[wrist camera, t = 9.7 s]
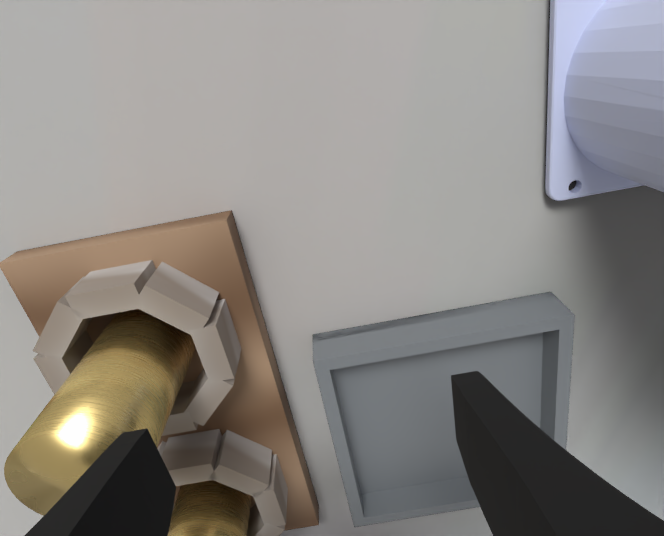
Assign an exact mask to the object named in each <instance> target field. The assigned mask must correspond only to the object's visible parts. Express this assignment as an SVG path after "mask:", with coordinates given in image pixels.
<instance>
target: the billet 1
mask: <svg viewBox="0 0 664 536" xmlns="http://www.w3.org/2000/svg"><path fill="white" fill-rule="evenodd" d="M195 349H196V347H195V344H194V341H193V339H192V336H191V335H190V334H188V333H186V332H184V331H182V330H180V329H178V328H176V327H174V326H172V325H170V324H168V323H166V322H164V321H162V320H160V319H158V318H156V317H154V316H152V315H150V314H148V313H146V312H144V311H142V310H140V309H135V310H129V311H124V312H118V313H117V314H116V315H115V316H114V317H113V319H112V320H111V321H110V322H109V324H108V325H107V326H106V328H105V329H104V330H103V332H102V333H101V334H100V336H99V337H98V338H97V340H96V341H95V342H94V344H93V345H92V346H91V347H90V349H89V350H88V351H87V353H86V354H85V355H84V357H83V358H82V359H81V361H80V362H79V363H78V365H77V366H76V367H75V369H74V370H73V371H72V373H71V374H70V375H69V376H68V378H67V379H66V380H65V382H64V383H63V384H62V386H61V387H60V388H59V390H58V391H57V392H56V394H55V395H54V396H53V398H52V399H51V400H50V402H49V403H48V404H47V405H46V407H45V408H44V409H43V411H42V412H41V413H40V415H39V416H38V417H37V419H36V420H35V421H34V423H33V424H32V425H31V427H30V428H29V429H28V430H27V432H26V433H25V434H24V436H23V437H22V438H21V440H20V441H19V442H18V444H17V445H16V446H15V448H14V449H13V450H12V452H11V453H10V454H9V456H8V457H7V460H6V462H5V467H4V475H5V479H6V482H7V484H8V487H9V488H10V490H11V491H12V493H13V494H14V495H15V496H16V498H17V499H19V500H20V501H21V502H22V503H23V504H24V505H26V506H27V507H28V508H30V509H32V510H33V511H35V512H37V513H39V514H41V515H43V516H44V515H45V514H46V513H47V512H48V511H49V510H50V509H51V508H52V507H53V506H54V505H55V504H56V503H57V502H58V501H59V499H60V498H61V497H62V496H63V495H64V494H65V493H66V492H67V491H68V490H69V489H70V488H71V487H72V486H73V484H74V483H75V482H76V481H77V480H78V479H79V478H80V477H81V476H82V475H83V474H84V473H85V471H86V470H87V469H88V468H89V467H90V466H91V465H92V464H93V463H94V462H95V461H96V460H97V458H98V457H99V456H100V455H101V454H102V453H103V452H104V451H105V450H106V449H107V448H108V447H109V446H110V445H111V444H112V443H113V442H114V441H115V440H116V439H117V438H118V437H119V436H120V435H121V434H122V433H123V432H129V431H135V430H140V429H146V428H147V429H148V431H149V433H150V435H151V437H152V439H153V441H154V443H155V445H156V447H157V446H158V444H159V441H160V439H161V436H162V434H163V431H164V428H165V426H166V423H167V421H168V418H169V416H170V413H171V411H172V408H173V406H174V403H175V401H176V398H177V395H178V393H179V390H180V388H181V385H182V383H183V380H184V378H185V375H186V373H187V370H188V367H189V365H190V362H191V360H192V357H193V355H194V352H195Z"/></svg>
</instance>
